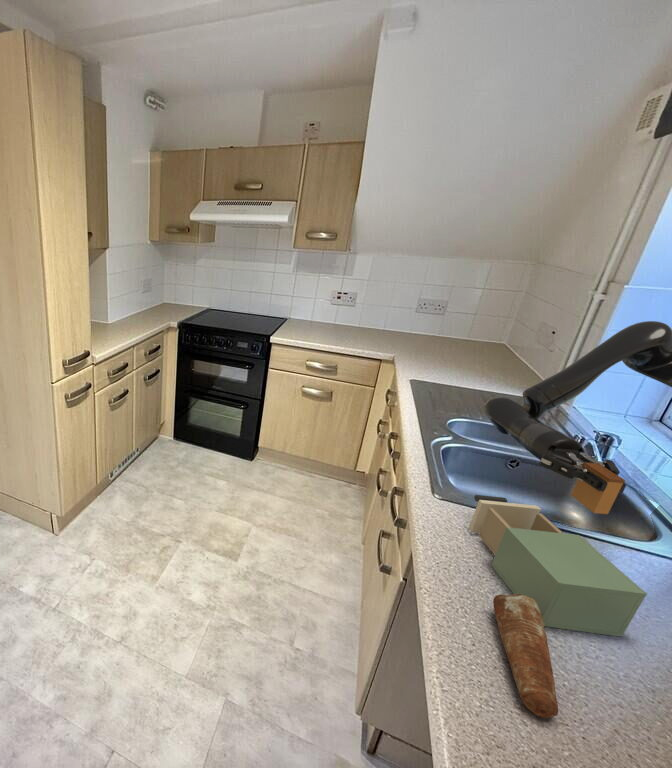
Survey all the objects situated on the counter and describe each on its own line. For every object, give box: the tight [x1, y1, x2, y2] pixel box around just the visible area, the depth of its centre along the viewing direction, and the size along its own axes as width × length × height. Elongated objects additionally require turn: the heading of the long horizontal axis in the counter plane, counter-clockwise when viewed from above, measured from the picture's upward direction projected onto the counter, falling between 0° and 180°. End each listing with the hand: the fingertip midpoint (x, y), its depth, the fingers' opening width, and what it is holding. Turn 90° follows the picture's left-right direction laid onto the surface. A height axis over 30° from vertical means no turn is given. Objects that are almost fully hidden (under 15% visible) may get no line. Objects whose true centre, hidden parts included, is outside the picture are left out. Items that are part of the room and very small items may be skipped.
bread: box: [492, 593, 559, 718], centre depth 64 cm, size 6×19×6 cm, turn 148°
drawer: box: [468, 494, 563, 556], centre depth 87 cm, size 18×11×8 cm, turn 171°
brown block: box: [570, 462, 626, 515], centre depth 83 cm, size 3×6×8 cm, turn 171°
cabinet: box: [491, 527, 648, 638], centre depth 74 cm, size 14×13×10 cm
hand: (612, 487), depth 80 cm, fingers closed on brown block, 2 cm apart
